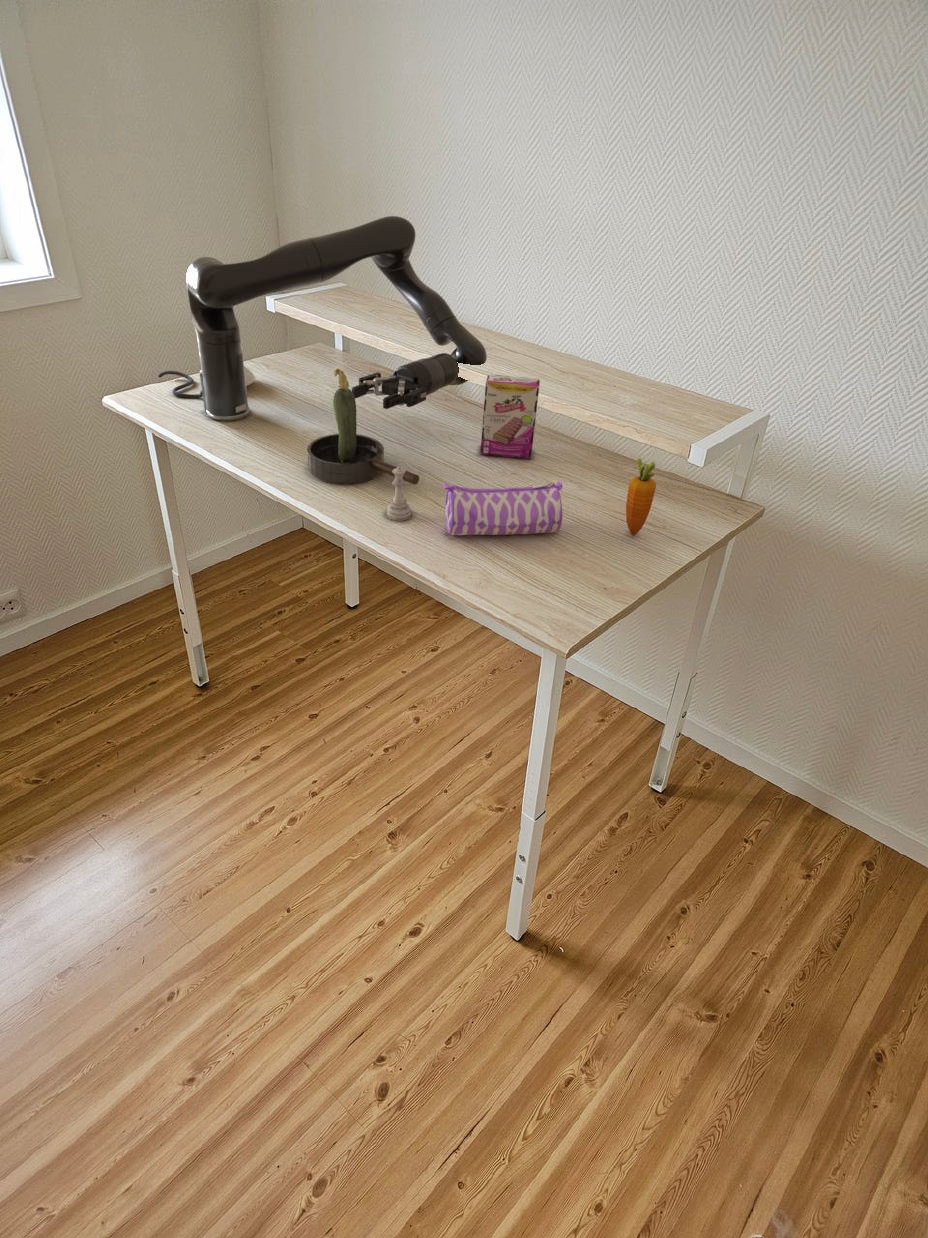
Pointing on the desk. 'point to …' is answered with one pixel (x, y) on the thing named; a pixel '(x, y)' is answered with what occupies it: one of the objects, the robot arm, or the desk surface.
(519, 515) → the pencil case
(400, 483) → the chess piece
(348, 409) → the vegetable
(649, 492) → the carrot
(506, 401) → the candy bar box
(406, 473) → the pan handle
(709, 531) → the desk surface
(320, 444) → the pan
